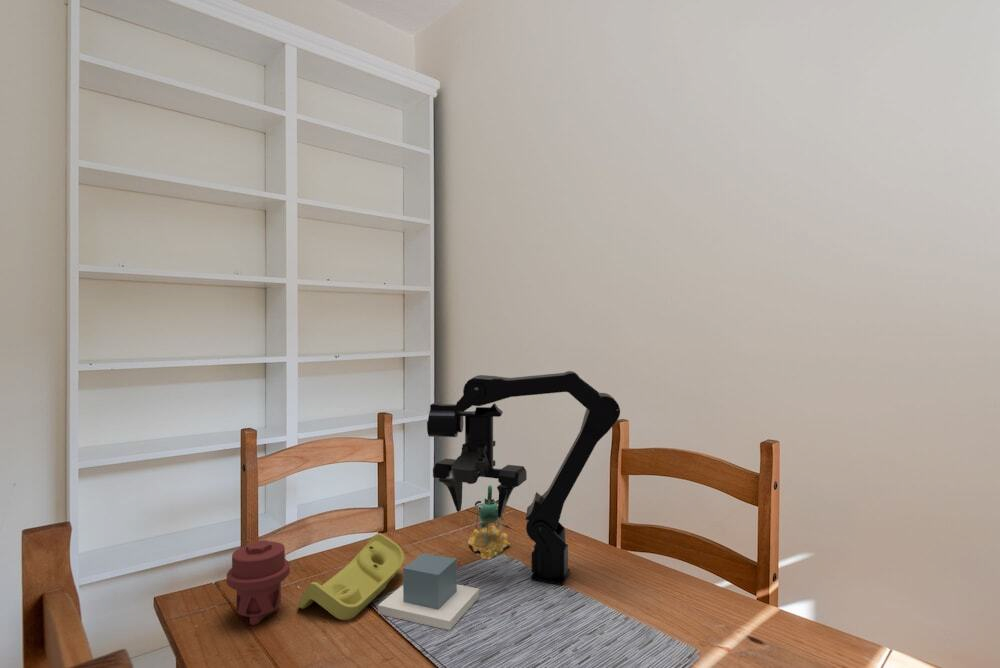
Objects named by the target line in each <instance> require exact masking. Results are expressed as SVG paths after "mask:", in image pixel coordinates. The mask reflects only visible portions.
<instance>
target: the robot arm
mask: <svg viewBox="0 0 1000 668" xmlns="http://www.w3.org/2000/svg"><path fill="white" fill-rule="evenodd" d="M462 389H463V392H462V393H463V395H462V396H461V398H460V399H459V400H458V401H456V403H455V404H452V403H451V404H450V403H449V404H448V403H447V404H446V403H444V404H443V403H440V402H439V403H438V402H436V403H435V402H433V403H431V404H430V406H429V413H428V416H427V417H428V419H427V421H426V430H427V431H426V432H427V436H428V437H429V438H430V437H431V438H432V437H433V438H458V435H459V433H463V431H464V443H462V446H461V453H460V455H459V456H457V458H456V459H453V458H444V459H441V460H440V461H438V462H436V463H435V464H434V465H433V467H432V478H435V479H438V482H439V483H442V484H444V485H445V486H446V487H447V489H448V491H449V494H450V496H451V500H452V502H453V504H454V507H455V511H456V512H458V513H459V512H461V510H462V506H463V505H462V503H463V483H466V484H468V485H473V484H476V483H477V482H478V479H479V478H480V477H481V478H487V479H489V478H490V479H498V480H497V481H498V483H499V485H497V487H496V489H497V491H498V499H497V500H498V502H497V504H498V517H499V518H500V517H502V518H503V514H504V512H505V510H506V507H507V503H508V501H509V499H510V496H511V494H512V492H513V490H514V489H515V488H516V487H519V486H520V485H522V484H523V483H524V482H526V481H527V476H528V475H527V474H528V473H527V472H528V471H527V470H526V468H525V467H524V466H523V465H513V464H507V465H505V466H504V467H502V468H494V467H495V466H496V460H494V447H495V446H496V440H494V417H495V418H497V417H498V418H499V417H501V416H502V415H503V414H504V412H503V410H502V409H500V408H499V406H498V405H497V404H496V402H499V401H502V400H505V399H508V398H513V397H514V398H515V397H516V398H517V397H525V396H535V395H545V394H556V393H557V394H558V393H568V394H570V396H572V397H573V398H574V399H575V400H576V401H578V403H580V404H581V405H582V406H583V407H584V408H585V412H584V416H583V419H582V423H581V426H580V429H579V432H578V434H577V436H576V438H575V440H574V442H573V443H572V445H571V447H570V448H569V451H568V453H567V454H566V456H565V458H564V460H563V462H562V463H561V465H560V467H559V469H558V471H557V473H556V475H555V476H554V478H553V480H552V482H551V483H550V486H549V488H547V490H546V491H545V492H544V493H543V494H542V495H541V494H540V493H538V492H535V495H534V497H533V500H532V503H531V504H530V505H529V506H527V507H526V514H525V520H526V526H525V527H526V528H525V530H526V531H525V532H526V533H527V536H528V537H529V539H531V541H533V542H534V543H535V544H534V545H533V550H532V552H531V572H532V575H531V577H530V578H531V580H533V581H539V582H545V583H549V584H550V583H551V584H556V585H560V586H561V585H564V583H565V581H566V580H567V578H568V577H569V575H570V573H571V569H570V568H569V545H568V543H567V540H566V537H567V536H566V528H565V526H564V525H562V524H561V523H560V520H561V519H560V518H561V515H562V511H563V508H564V504H565V502H566V500H567V498H568V496H569V495H570V493H571V491H572V489H573V487H574V486H575V483H576V481H577V480H578V479H579V477H580V475H581V473H582V471H583V469H584V467H585V466H586V464H587V463H588V459H589V458H590V456H591V454H592V452H593V451H594V449H595V447H596V446H597V444H598V442H599V441H601V439H602V438H603V437H604V436H605V435H606V434H607V433H608V432H609V431H610V430H611V428H612V427H613V426H614V425H615V424H616V422H617V421H618V419H619V417H620V414H621V407H620V406H619V403H618V402H617V400H616V399H615V398H614V397H613V396H612V395H610V394H609V393H607V392H599V391H598V390H596V388H594V387H593V386H592V385H590V384H588V382H586V381H585V380H584V379H582V378H581V377H580V376H579V374H577V372H575V371H572V370H568V371H565V372H560V373H559V372H558V373H549V374H547V373H546V374H538V375H527V376H516V377H503V376H496V375H486V374H485V375H484V374H482V375H481V374H479V375H474V376H473V377H471V378H470V379H468V381H466V383H464V387H463V388H462ZM488 404H492V405H491V406H490V407H489V406H485V405H488ZM471 407H475V410H473V411H469V410H468V409H470V408H471ZM499 518H498V519H499ZM500 519H501V518H500Z"/></svg>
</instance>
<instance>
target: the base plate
mask: <svg viewBox="0 0 1000 668" xmlns="http://www.w3.org/2000/svg"><path fill="white" fill-rule="evenodd" d="M479 598H480V588H477V587H472V586H468V585H462V584H458V583H457V592H456V593H455V594H454V595H453V596H452V597H451V598H450V599H449V600H448V601H447V602H446V603H445V604H444V605H443V606H442V607H441V608H440V609H439V610H437V609H433V608H428V607H424V606H419V605H415V604H410V603H406V602H403V584H402V585H401V586H399V587H398V588H397V589H396V590H395V591H394V592H392V593H391V594H390V595H389V596H387V597H385V599H384V600H383V601H381V602H380V603H379V604H378V605H377V614H378V615H382V616H386V617H391V618H395V619H400V620H404V621H407V622H412V623H416V624H421V625H425V626H429V627H434V628H438V629H442V630H447V631H451V630H452V629H453V628H454V626H455V625H456V624H457V623H458V622H459V621H460V620H461V618H462V617H463V616H464V615H465V614H466V613H467V611H469V609H470V608H471V607H472V606H473V605H474V604H475V602H476V601H477V600H478V599H479Z"/></svg>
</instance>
